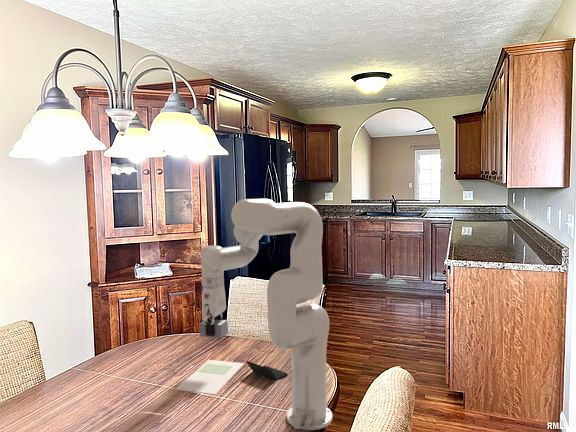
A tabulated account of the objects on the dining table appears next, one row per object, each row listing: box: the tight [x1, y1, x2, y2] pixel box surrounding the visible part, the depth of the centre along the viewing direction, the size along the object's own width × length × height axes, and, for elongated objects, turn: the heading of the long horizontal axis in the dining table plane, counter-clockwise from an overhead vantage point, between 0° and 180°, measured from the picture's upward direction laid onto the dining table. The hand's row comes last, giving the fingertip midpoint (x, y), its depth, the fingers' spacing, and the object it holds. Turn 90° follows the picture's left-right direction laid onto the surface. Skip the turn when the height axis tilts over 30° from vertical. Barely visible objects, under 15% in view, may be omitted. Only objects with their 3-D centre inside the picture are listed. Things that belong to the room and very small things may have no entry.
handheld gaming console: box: [245, 360, 288, 381], centre depth 146 cm, size 12×7×10 cm
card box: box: [199, 318, 229, 339], centre depth 151 cm, size 8×6×4 cm
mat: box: [175, 359, 245, 395], centre depth 147 cm, size 24×14×1 cm, turn 164°
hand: (214, 332), depth 151 cm, fingers closed on card box, 5 cm apart
